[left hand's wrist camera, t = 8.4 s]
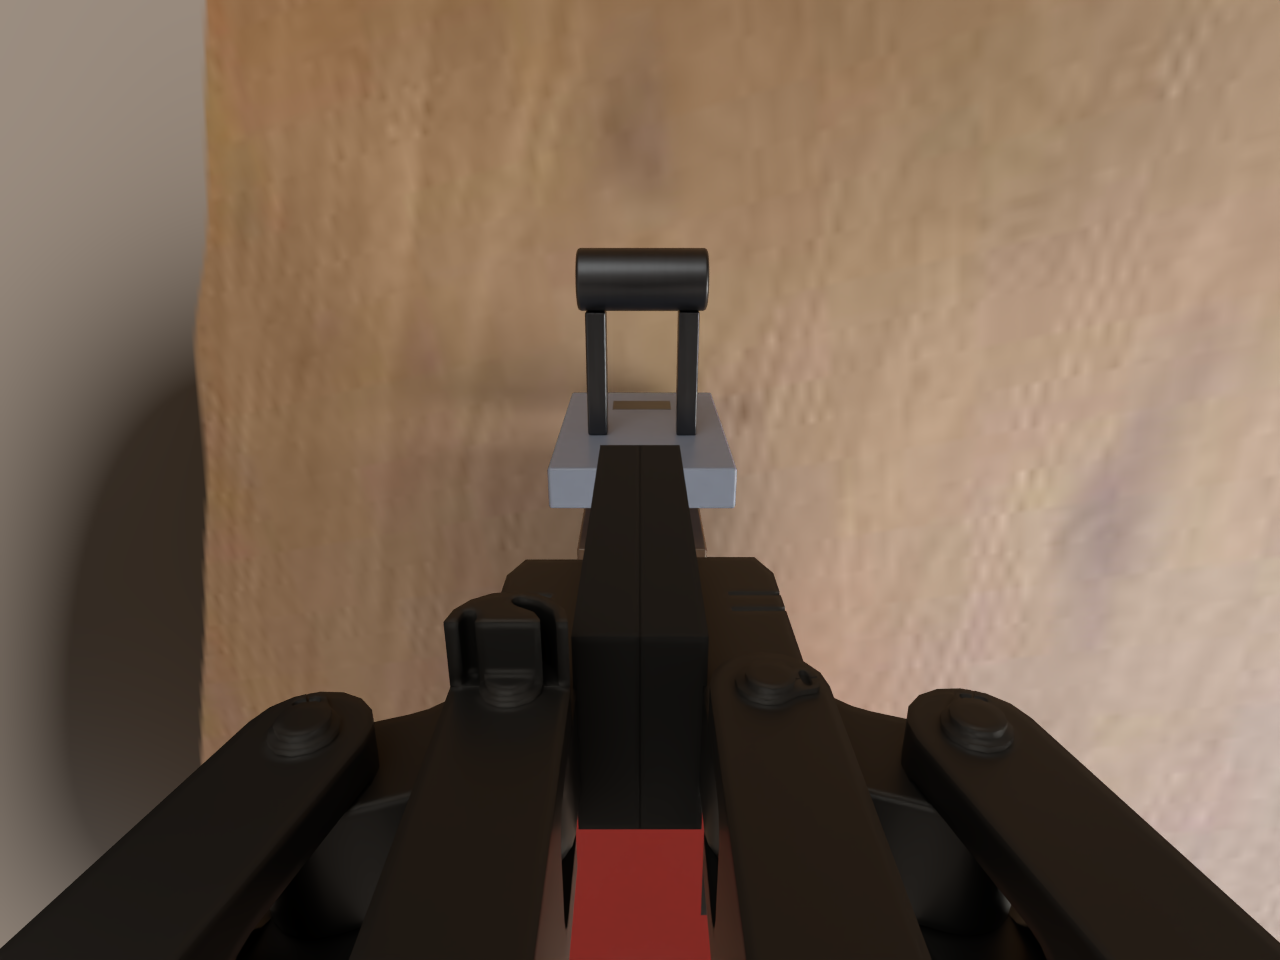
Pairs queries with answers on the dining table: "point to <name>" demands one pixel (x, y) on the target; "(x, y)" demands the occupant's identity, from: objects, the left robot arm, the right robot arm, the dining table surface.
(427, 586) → the dining table surface
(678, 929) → the red box housing
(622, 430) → the drawer
